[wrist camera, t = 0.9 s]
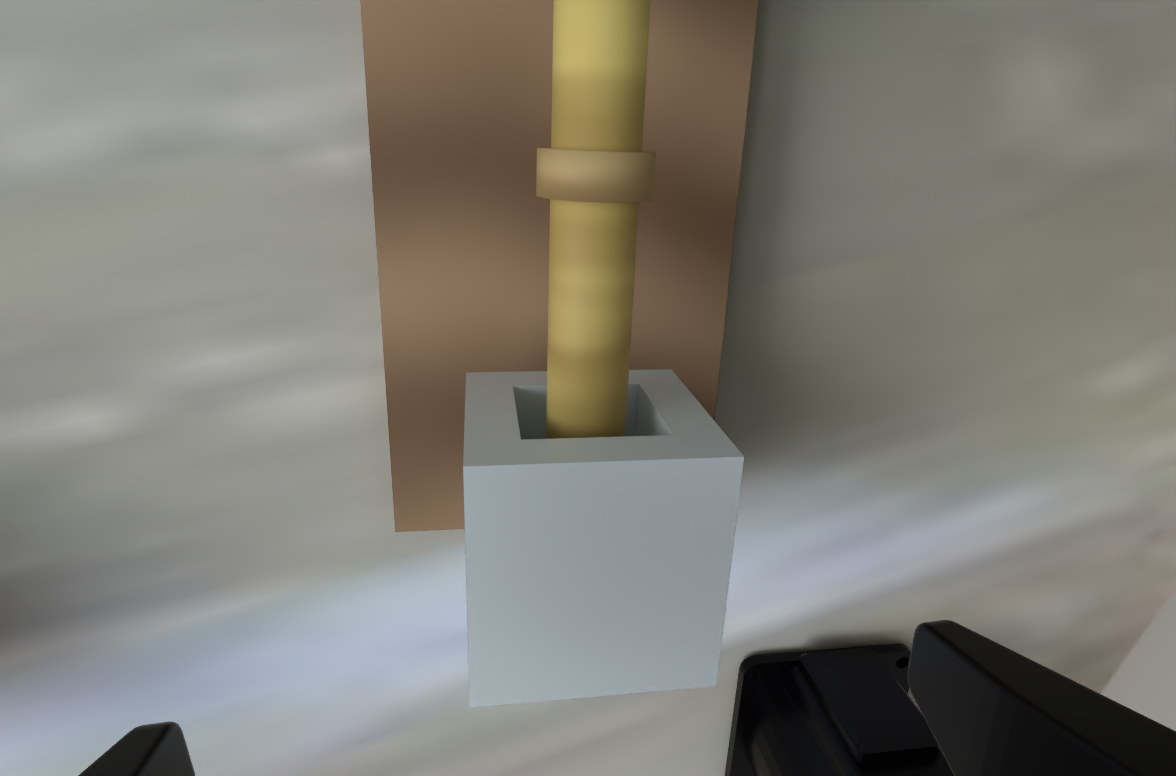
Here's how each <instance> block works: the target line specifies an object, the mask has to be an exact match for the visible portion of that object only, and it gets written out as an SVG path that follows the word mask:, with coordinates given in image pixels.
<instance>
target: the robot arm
mask: <svg viewBox="0 0 1176 776" xmlns="http://www.w3.org/2000/svg"><path fill="white" fill-rule="evenodd" d="M898 659H899V660H898ZM757 669H758V670H757ZM754 670H757V671H756V672H753V671H754ZM752 672H753V673H752ZM909 687H910V690H911V692H912V695H913V697H914V699H915V701H916V702H917V704H918V706H919V708H920V710H921V711H920V710H919V709H918V707H917V706H916V705H915V704H914V702H913V701H912V700H911V698H910V697H909V696H908V690H909ZM921 712H922V713H921ZM78 776H195V773H194V769H193V766H192V762H191V759H190V755H189V752H188V749H187V745H186V742H185V739H184V735H183V732H182V730H181V727H180V726H179V725H178V724H177V723H175V722H164V723H156V724H149V725H142V726H139V727H136V728H134V729H133V730H131V731H130V732H129V733H128V734H126V735H125V736H124V737H123V738H122V739H121V740H119V741H118V742H117V743H116V744H115V745H114V746H112V747H111V748H110V749H109V750H108V751H106V752H105V753H104V754H103V755H102V756H101V757H99V758H98V759H97V760H96V761H95V762H94V763H92V764H91V765H90V766H89V767H88V768H87V769H85V770H84V771H83V772H82V773H81V774H80V775H78ZM725 776H1176V731H1174V730H1172V729H1170V728H1168V727H1166V726H1164V725H1162V724H1159V723H1158V722H1155V721H1153V720H1151V719H1149V718H1147V717H1145V716H1143V715H1141V714H1139V713H1137V712H1135V711H1133V710H1131V709H1129V708H1127V707H1125V706H1123V705H1121V704H1119V703H1117V702H1115V701H1113V700H1111V699H1109V698H1107V697H1105V696H1103V695H1101V694H1099V693H1097V692H1095V691H1093V690H1091V689H1089V688H1087V687H1085V686H1083V685H1081V684H1079V683H1077V682H1075V681H1073V680H1071V679H1069V678H1067V677H1065V676H1063V675H1060V674H1058V673H1056V672H1054V671H1052V670H1050V669H1048V668H1046V667H1044V666H1042V665H1040V664H1038V663H1036V662H1034V661H1032V660H1030V659H1028V658H1026V657H1024V656H1022V655H1020V654H1018V653H1016V652H1014V651H1012V650H1010V649H1008V648H1006V647H1004V646H1002V645H1000V644H998V643H996V642H994V641H992V640H990V639H988V638H986V637H984V636H982V635H980V634H978V633H976V632H974V631H972V630H969V629H967V628H965V627H963V626H961V625H959V624H957V623H955V622H953V621H949V620H941V621H933V622H925V623H922V624H919V625H918V626H917V628H916V629H915V632H914V637H913V643H912V649H911V650H910V649H909V648H908V647H907V646H906V645H904V644H889V645H877V646H865V647H852V648H840V649H828V650H816V651H803V652H791V653H779V654H766V655H754V656H750V657H748V658H746V659H745V660H744V661H743V662H742V663H741V665H740V668H739V675H738V682H737V690H736V697H735V704H734V712H733V719H732V726H731V734H730V741H729V748H728V756H727V763H726V770H725Z"/></svg>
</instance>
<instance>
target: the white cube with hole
mask: <svg viewBox="0 0 1176 776" xmlns="http://www.w3.org/2000/svg"><path fill="white" fill-rule="evenodd" d="M546 415H547V371H523V372H466V390H465V422H464V455H463V480H464V517H465V554H466V590H467V627H468V664H469V701H470V708H473V707H484V706H495V705H507V704H518V703H530V702H541V701H552V700H564V699H575V698H587V697H598V696H609V695H621V694H632V693H644V692H655V691H666V690H678V689H689V688H700V687H712V686H716V682H717V674H718V666H719V657H720V649H721V641H722V633H723V625H724V617H725V609H726V601H727V593H728V584H729V576H730V568H731V560H732V552H733V544H734V536H735V528H736V519H737V511H738V503H739V495H740V487H741V479H742V471H743V463H744V456H743V455H742V453H741V452H740V451H739V450H738V449H737V447H736V446H735V445H734V444H733V443H732V441H731V440H730V439H729V438H728V437H727V435H726V434H725V433H724V432H723V431H722V429H721V428H720V427H719V426H718V425H717V423H716V422H715V421H714V420H713V419H712V417H711V416H710V415H709V414H708V413H707V411H706V410H705V409H704V408H703V407H702V405H701V404H700V403H699V402H698V401H697V399H696V398H695V397H694V396H693V395H692V393H691V392H690V391H689V390H688V389H687V387H686V386H685V385H684V384H683V383H682V381H681V380H680V379H679V378H678V377H677V375H676V374H675V373H674V372H673V371H672V369H662V370H629V380H628V397H627V414H626V431H625V437H592V438H558V439H546Z"/></svg>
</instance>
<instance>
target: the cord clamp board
mask: <svg viewBox="0 0 1176 776" xmlns="http://www.w3.org/2000/svg"><path fill="white" fill-rule="evenodd" d="M758 1H759V0H360V2H361V17H362V32H363V48H364V63H365V78H366V93H367V108H368V123H369V139H370V154H371V169H372V184H373V199H374V215H375V230H376V245H377V260H378V275H379V290H380V306H381V321H382V336H383V351H384V366H385V381H386V397H387V412H388V427H389V442H390V457H391V472H392V488H393V503H394V518H395V532H406V531H427V530H447V529H465V517H464V480H463V455H464V422H465V390H466V372H523V371H547V415H546V439H558V438H592V437H625V431H626V414H627V397H628V380H629V370H662V369H672V371H673V372H674V373H675V374H676V375H677V377H678V378H679V379H680V380H681V381H682V383H683V384H684V385H685V386H686V387H687V389H688V390H689V391H690V392H691V393H692V395H693V396H694V397H695V398H696V399H697V401H698V402H699V403H700V404H701V405H702V407H703V408H704V409H705V410H706V411H707V413H708V414H709V415H710V416H711V417H712V419H713V420H715V410H716V401H717V391H718V382H719V372H720V363H721V353H722V344H723V334H724V325H725V315H726V306H727V296H728V287H729V277H730V268H731V258H732V249H733V239H734V230H735V220H736V211H737V201H738V192H739V182H740V173H741V163H742V154H743V144H744V134H745V125H746V115H747V106H748V96H749V87H750V77H751V68H752V58H753V49H754V39H755V30H756V20H757V11H758Z"/></svg>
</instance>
